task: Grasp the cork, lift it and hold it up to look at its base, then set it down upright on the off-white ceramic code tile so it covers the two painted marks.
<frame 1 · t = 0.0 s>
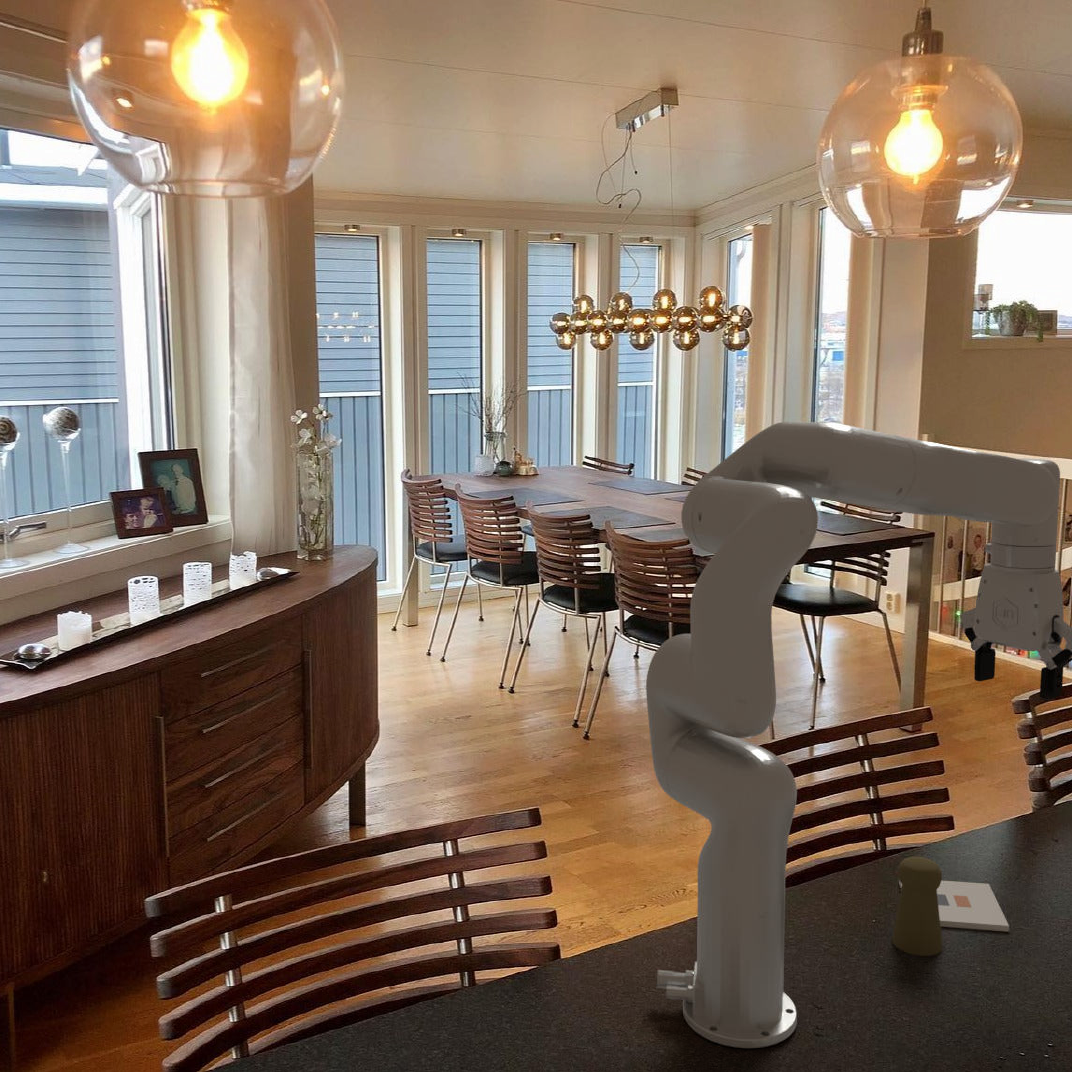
hand: (1016, 688, 139), 31 cm above the table, tool pointing down, fingers open, 9 cm apart
code tile: (951, 906, 146), on the table
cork: (917, 945, 137), on the table
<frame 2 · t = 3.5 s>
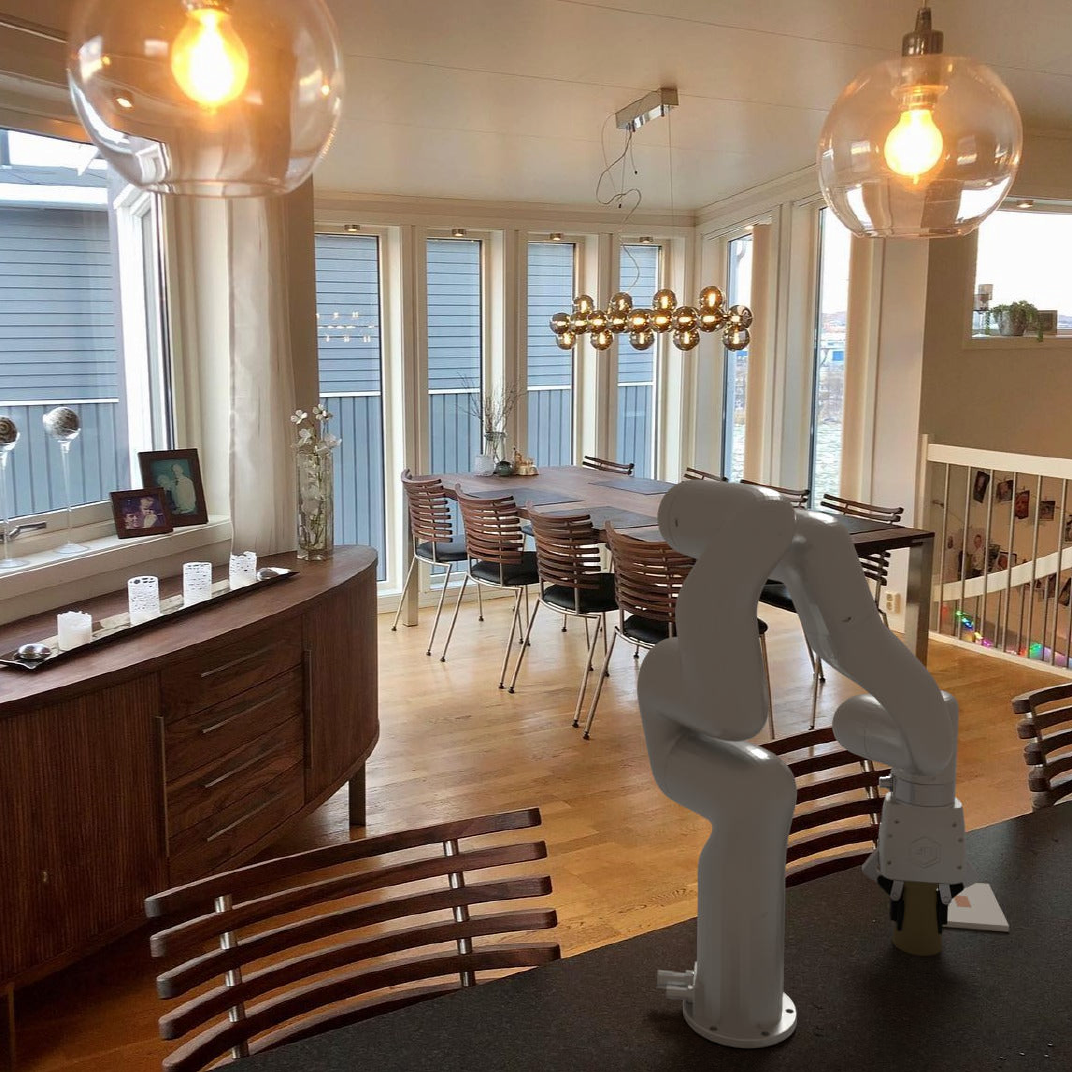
hand: (917, 925, 136), 2 cm above the table, tool pointing down, fingers closed on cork, 4 cm apart
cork: (917, 944, 137), on the table, touching gripper
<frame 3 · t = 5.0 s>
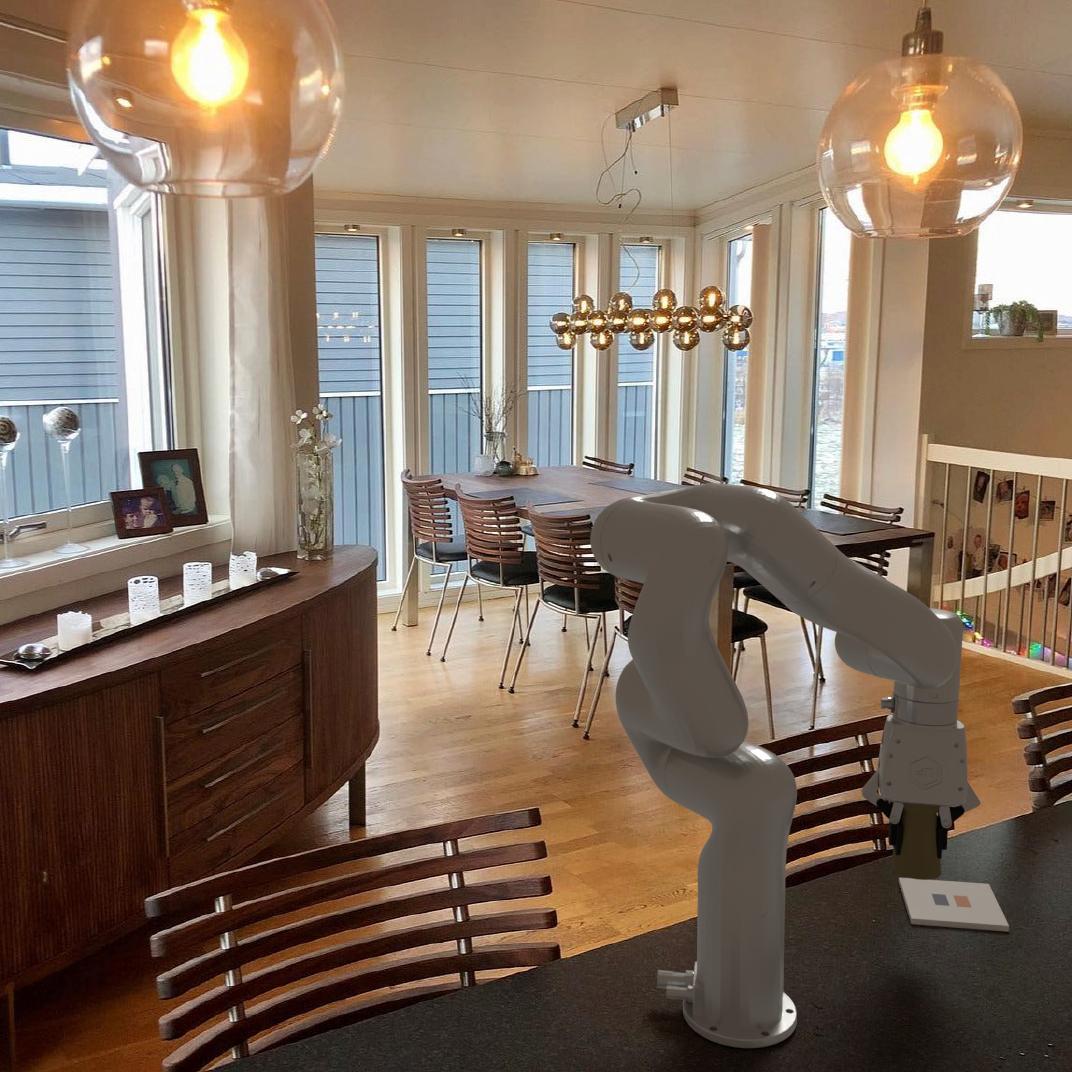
hand: (916, 851, 135), 12 cm above the table, tool pointing down, fingers closed on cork, 4 cm apart
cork: (915, 870, 135), point 10 cm above the table, touching gripper
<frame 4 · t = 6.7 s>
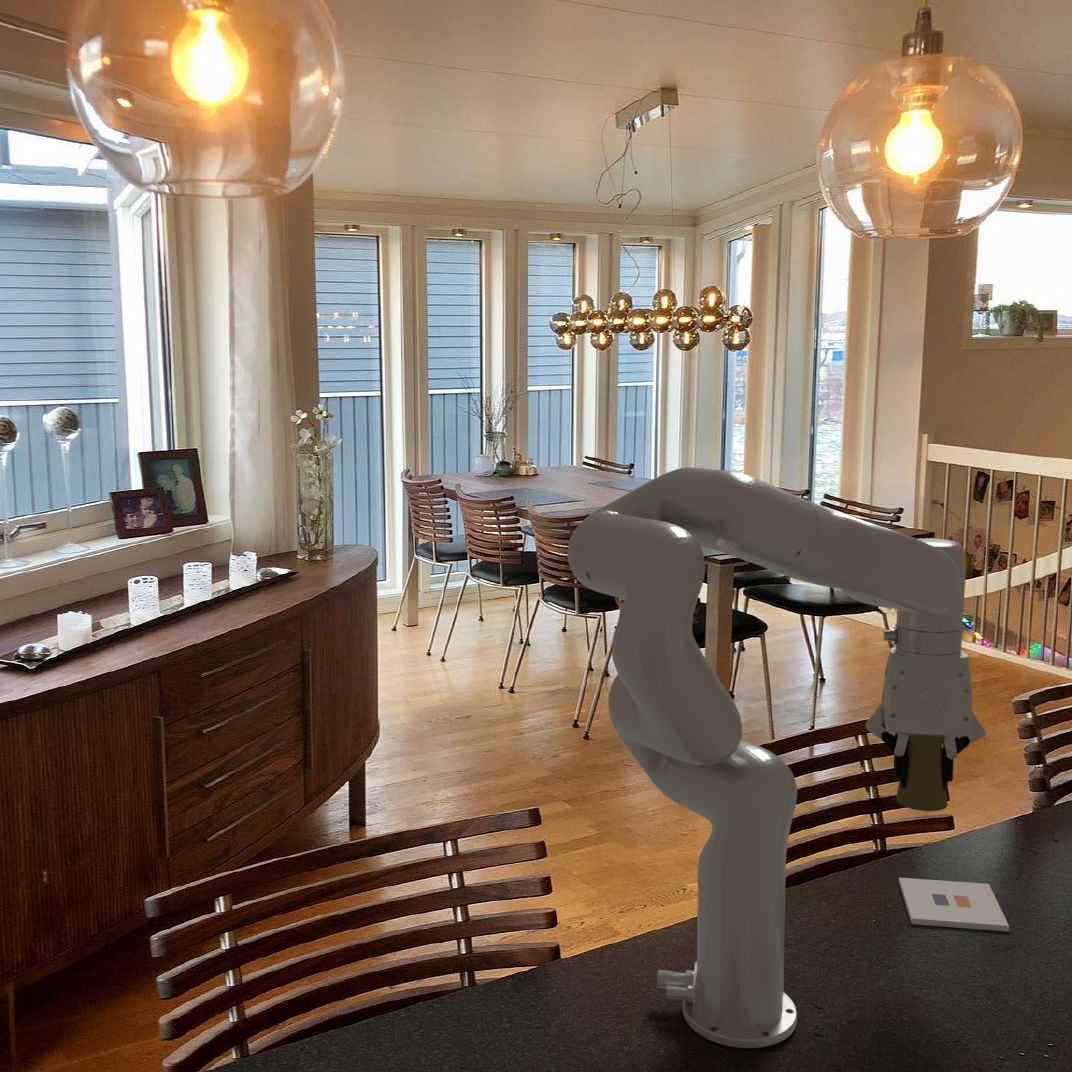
hand: (922, 783, 134), 21 cm above the table, tool pointing down, fingers closed on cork, 4 cm apart
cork: (921, 803, 134), point 19 cm above the table, touching gripper
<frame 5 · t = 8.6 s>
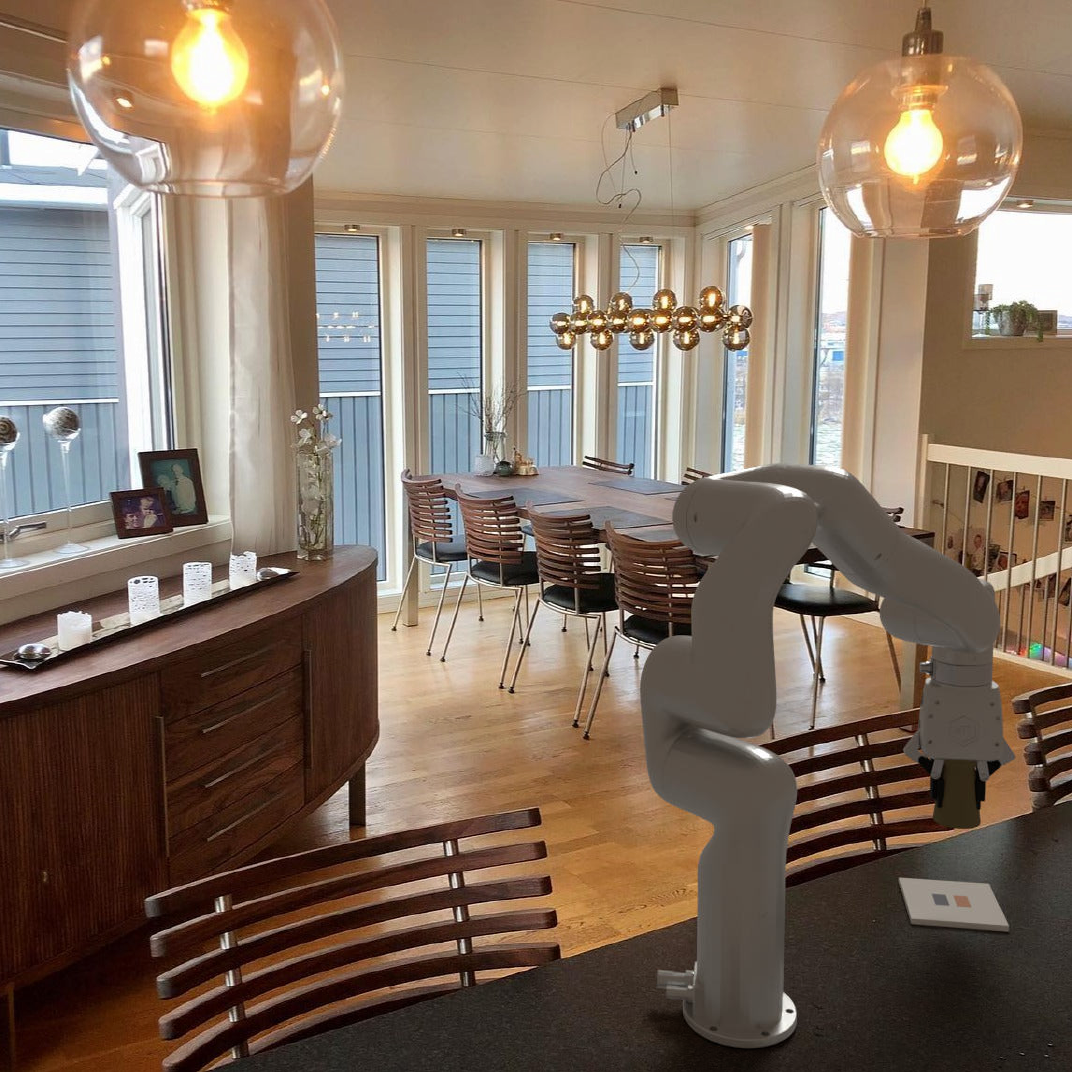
hand: (957, 803, 145), 14 cm above the table, tool pointing down, fingers closed on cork, 4 cm apart
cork: (956, 821, 145), point 12 cm above the table, touching gripper
when the fingers open (4 cm above the table, at t = 10.3 s): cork drops 1 cm, resting on code tile.
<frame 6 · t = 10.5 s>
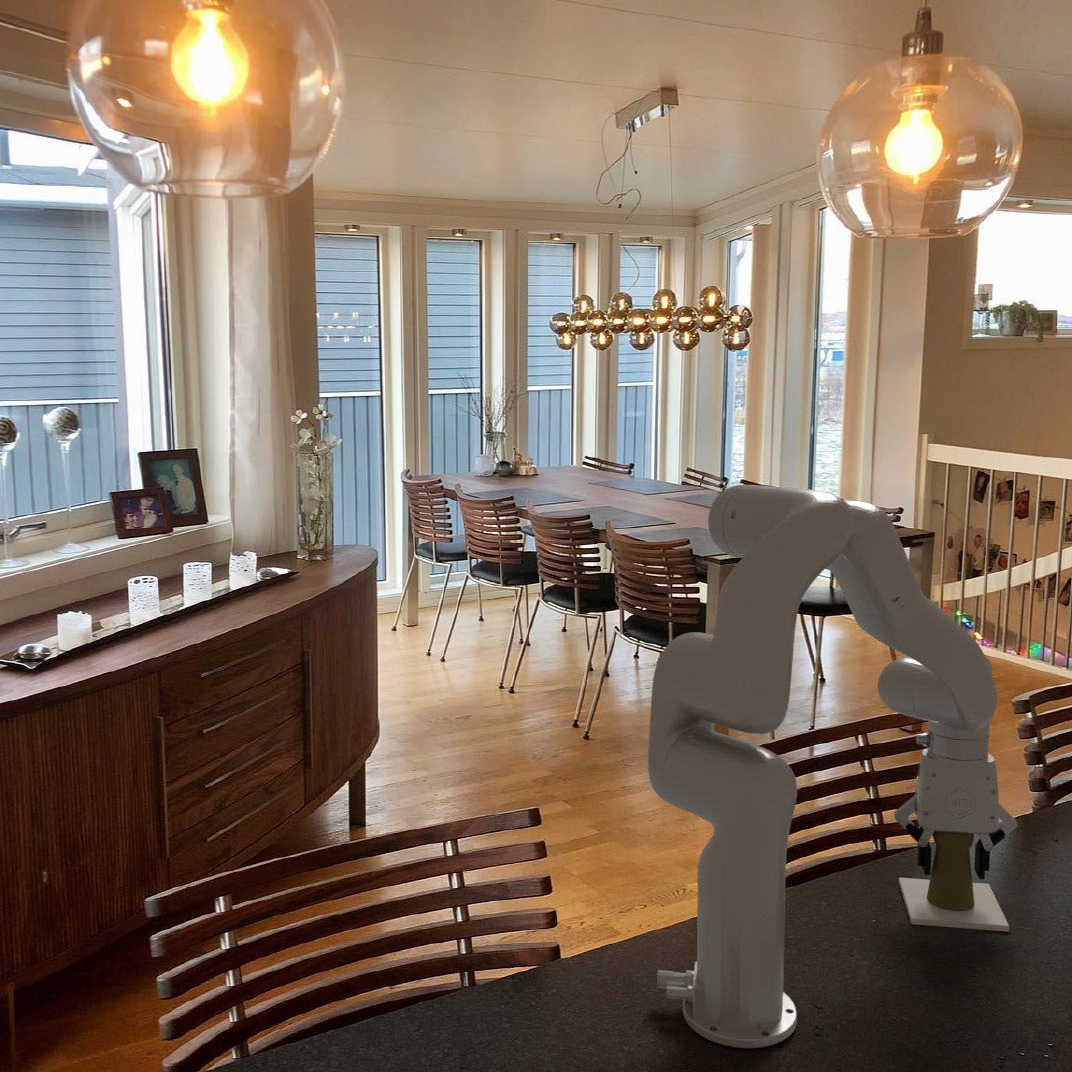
hand: (952, 871, 146), 5 cm above the table, tool pointing down, fingers open, 6 cm apart
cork: (950, 901, 146), point 1 cm above the table, touching code tile
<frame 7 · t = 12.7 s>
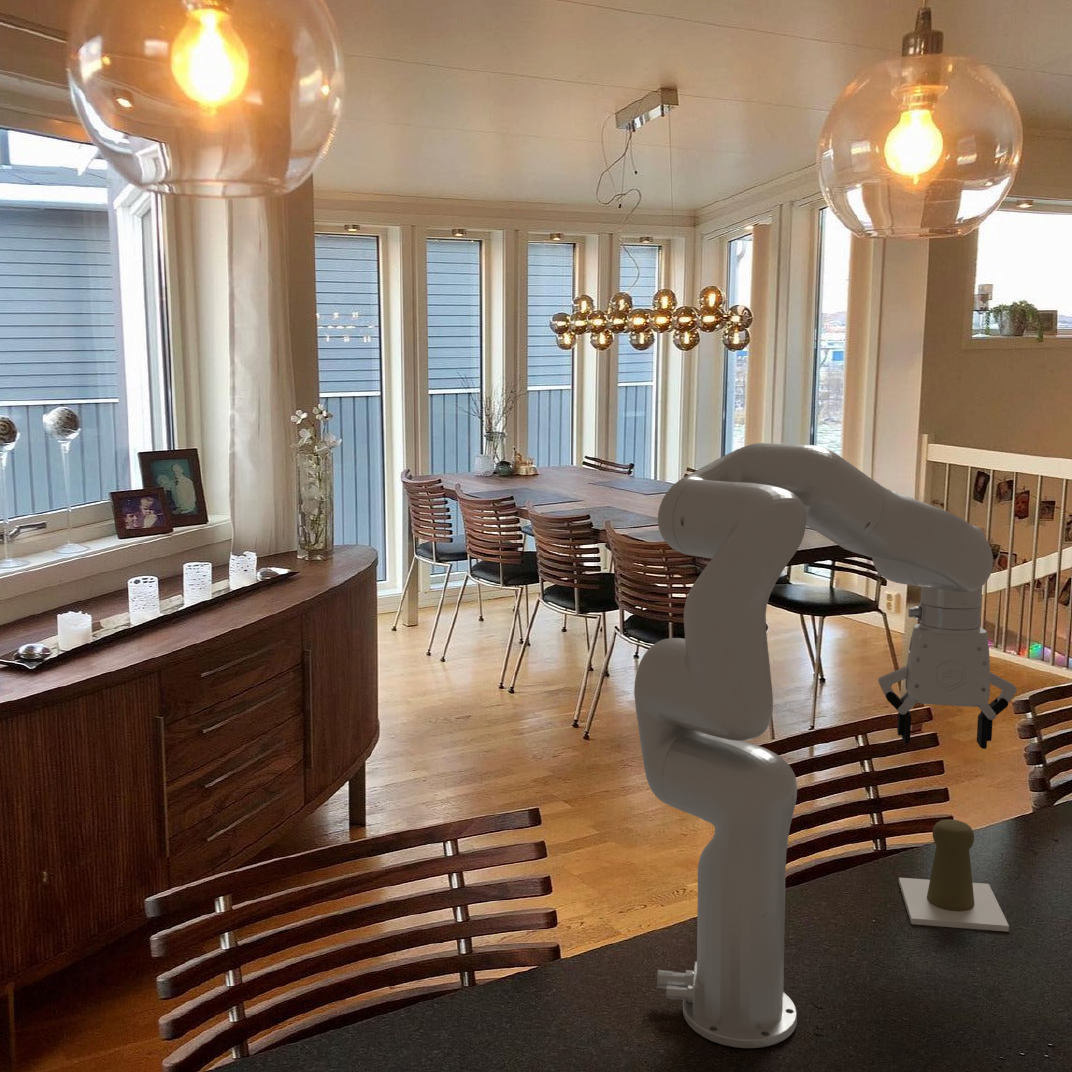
hand: (943, 743, 145), 22 cm above the table, tool pointing down, fingers open, 9 cm apart
nothing on the table moved.
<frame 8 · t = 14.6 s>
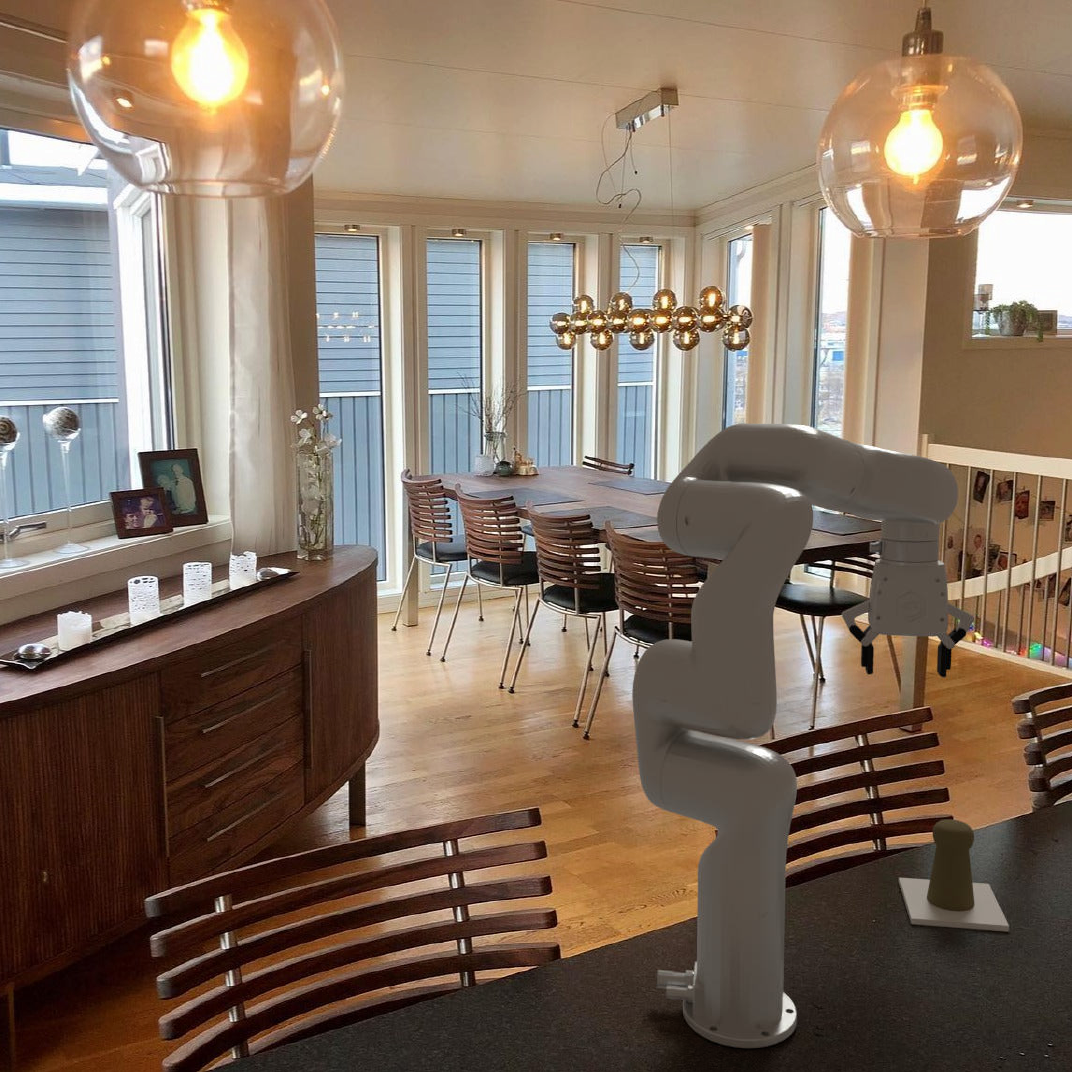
hand: (905, 673, 150), 30 cm above the table, tool pointing down, fingers open, 9 cm apart
nothing on the table moved.
at the end: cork 0.1 cm off-centre on the code tile, point 0.6 cm above the code tile's base; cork tilted 0°; the gripper is holding nothing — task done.
